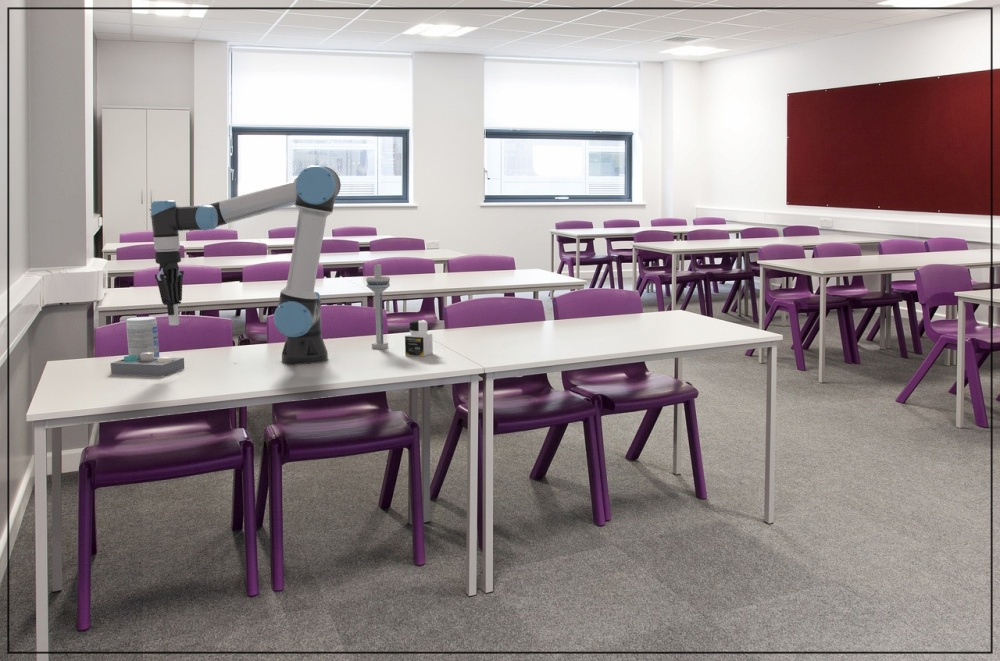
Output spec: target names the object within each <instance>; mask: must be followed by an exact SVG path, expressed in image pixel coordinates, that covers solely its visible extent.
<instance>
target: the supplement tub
mask: <svg viewBox="0 0 1000 661" xmlns="http://www.w3.org/2000/svg"><path fill="white" fill-rule="evenodd" d="M157 323H158V322H157V318H156V316H155V317H154V316H138V317H137V316H136V317H128V318H126V327H125V328H126V337H127V338H126V339H127V349H128V350H127V352H128V356H130V355H136V356H140V354H141V353H145V352H153V353H154V357H160V347H159V346H160V345H159V334H158V324H157Z"/></svg>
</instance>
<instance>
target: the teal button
mask: <svg viewBox="0 0 1000 661" xmlns="http://www.w3.org/2000/svg"><path fill="white" fill-rule="evenodd" d="M123 359H124V361H132V362H133V361H136V360H138V356H136V355H130V356H129V355H125V356H124V357H123Z"/></svg>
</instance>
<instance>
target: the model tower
mask: <svg viewBox="0 0 1000 661" xmlns="http://www.w3.org/2000/svg"><path fill="white" fill-rule="evenodd" d="M373 271H374V272H373V273H374V274H373V275H374V276H367V277H366V280H365V281H366V283H367V284H366V287H367V288H369V289H370V291H372V292H373V293H374V303H375V305H374V306H375V307H374V309H375V311H374V312H375V338H376V339H375V340H376V342H374V343H371V349H372V348H374V349H373V350H375V349H376V350H383V349H387V347H388V348H389V342H384V321H383V320H384V319H383V314H384V313H383V311H384V310H383V292H384V291H386V290H387V289H388V288H389V287H391V284H390V280H391V279H390V277H389V276H382V264H374V265H373Z"/></svg>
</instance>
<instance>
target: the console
mask: <svg viewBox="0 0 1000 661" xmlns="http://www.w3.org/2000/svg"><path fill="white" fill-rule="evenodd" d="M159 357H160V356H159ZM159 357H154V361H152V362H141V356H138V360H136V361H133V362H132V361H124V358H123V359H120V360H117V361H116V360H115V361H113V362H110V371H111V372H110V373H111V375H122V376H123V375H126V376H127V375H128V376H129V375H130V376H147V377H148V376H149V377H150V376H152V377H165V376H168V375H170V374H173V373H176V372H179V371H181V370H182V371H183V370H185V369H184V368H185V358H184V357H174V356H173V357H171V356H170V357H171V362H168V363H158V358H159Z"/></svg>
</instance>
